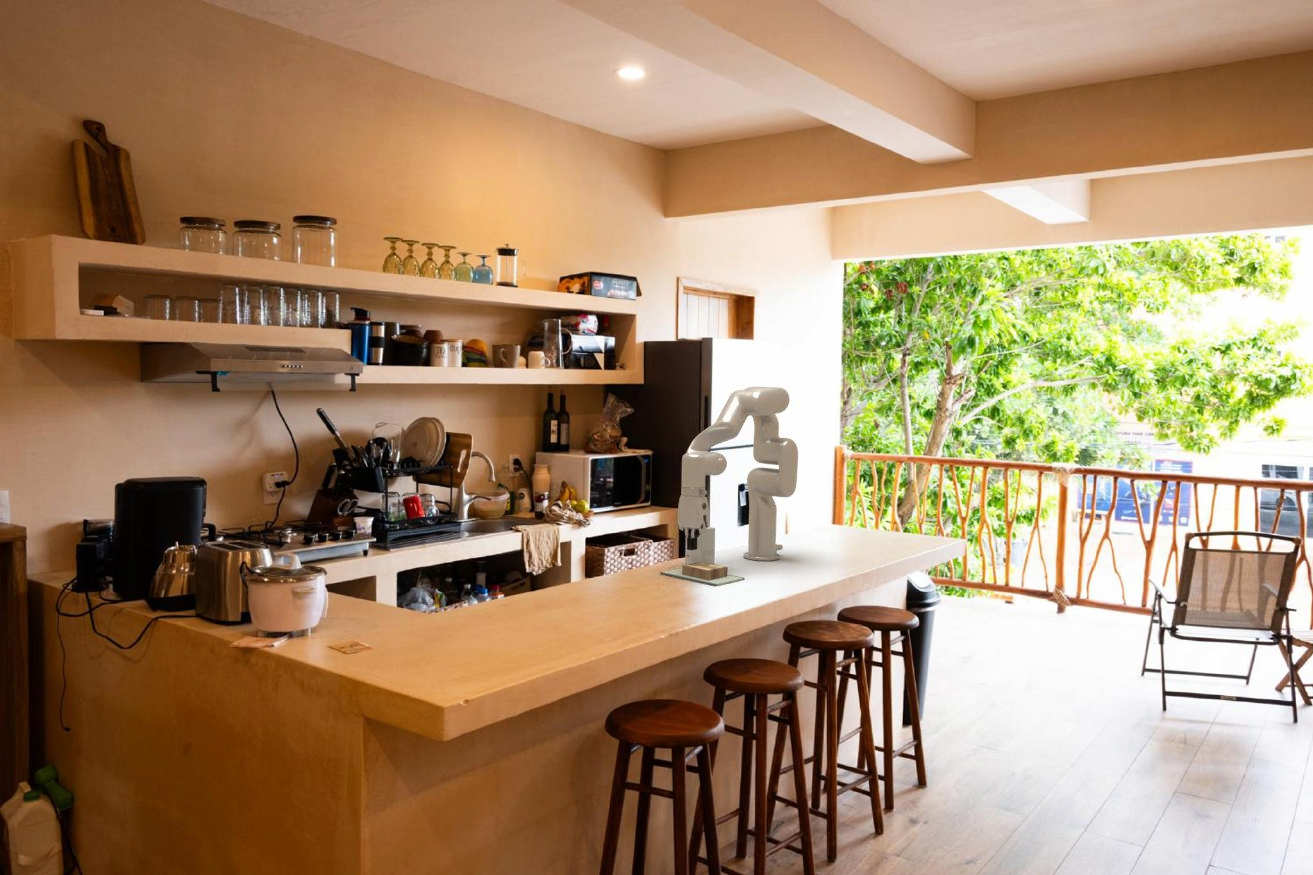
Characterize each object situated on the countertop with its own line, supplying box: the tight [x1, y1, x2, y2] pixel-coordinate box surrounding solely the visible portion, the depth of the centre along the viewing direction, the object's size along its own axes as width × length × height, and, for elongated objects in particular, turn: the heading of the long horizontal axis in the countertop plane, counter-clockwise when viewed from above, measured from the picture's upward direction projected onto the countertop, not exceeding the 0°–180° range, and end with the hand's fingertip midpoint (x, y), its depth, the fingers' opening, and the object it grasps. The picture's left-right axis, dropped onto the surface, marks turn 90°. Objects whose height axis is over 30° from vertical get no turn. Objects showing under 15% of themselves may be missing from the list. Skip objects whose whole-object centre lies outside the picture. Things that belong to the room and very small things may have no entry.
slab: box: [681, 562, 729, 581], centre depth 303 cm, size 9×3×11 cm
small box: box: [684, 526, 716, 565], centre depth 321 cm, size 8×6×13 cm
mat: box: [659, 567, 745, 587], centre depth 304 cm, size 14×23×1 cm, turn 46°
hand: (692, 549), depth 306 cm, fingers closed
